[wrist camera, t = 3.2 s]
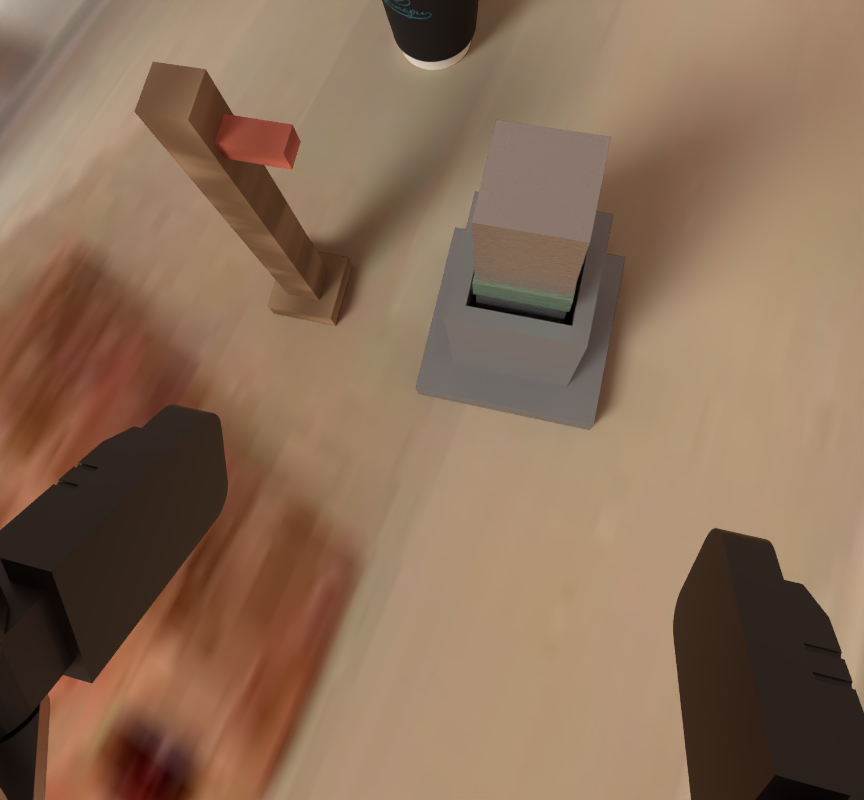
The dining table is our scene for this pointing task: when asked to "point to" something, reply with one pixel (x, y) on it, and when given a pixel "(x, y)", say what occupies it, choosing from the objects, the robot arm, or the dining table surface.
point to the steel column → (535, 218)
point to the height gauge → (244, 185)
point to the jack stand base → (523, 341)
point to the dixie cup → (432, 30)
